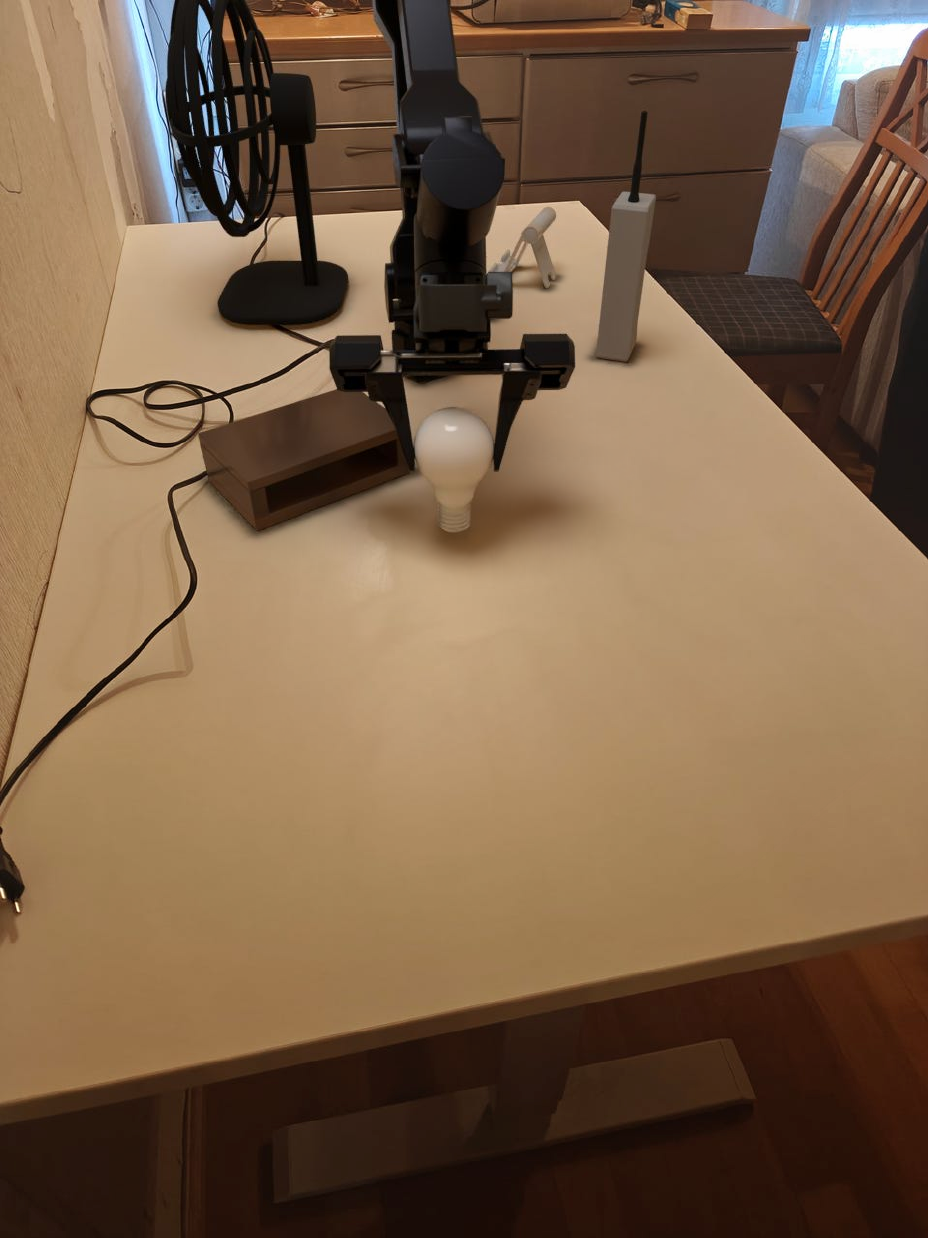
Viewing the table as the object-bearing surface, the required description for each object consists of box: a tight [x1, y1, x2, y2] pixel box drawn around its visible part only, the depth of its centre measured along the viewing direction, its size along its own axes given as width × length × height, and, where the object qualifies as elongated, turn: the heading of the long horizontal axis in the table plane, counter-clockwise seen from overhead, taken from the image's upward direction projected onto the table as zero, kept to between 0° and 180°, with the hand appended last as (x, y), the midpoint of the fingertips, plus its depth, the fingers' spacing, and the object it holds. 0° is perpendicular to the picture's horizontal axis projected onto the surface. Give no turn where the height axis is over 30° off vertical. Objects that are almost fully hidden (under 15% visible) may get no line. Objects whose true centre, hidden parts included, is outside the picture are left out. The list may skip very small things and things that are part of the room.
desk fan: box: [165, 0, 350, 326], centre depth 102 cm, size 27×18×35 cm, turn 0°
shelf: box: [197, 388, 411, 532], centre depth 80 cm, size 16×10×5 cm, turn 127°
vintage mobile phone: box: [595, 110, 657, 363], centre depth 93 cm, size 4×5×25 cm
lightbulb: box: [413, 406, 495, 533], centre depth 70 cm, size 6×6×11 cm
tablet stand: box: [487, 206, 557, 289], centre depth 116 cm, size 9×8×8 cm
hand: (454, 471), depth 68 cm, fingers closed on lightbulb, 6 cm apart
